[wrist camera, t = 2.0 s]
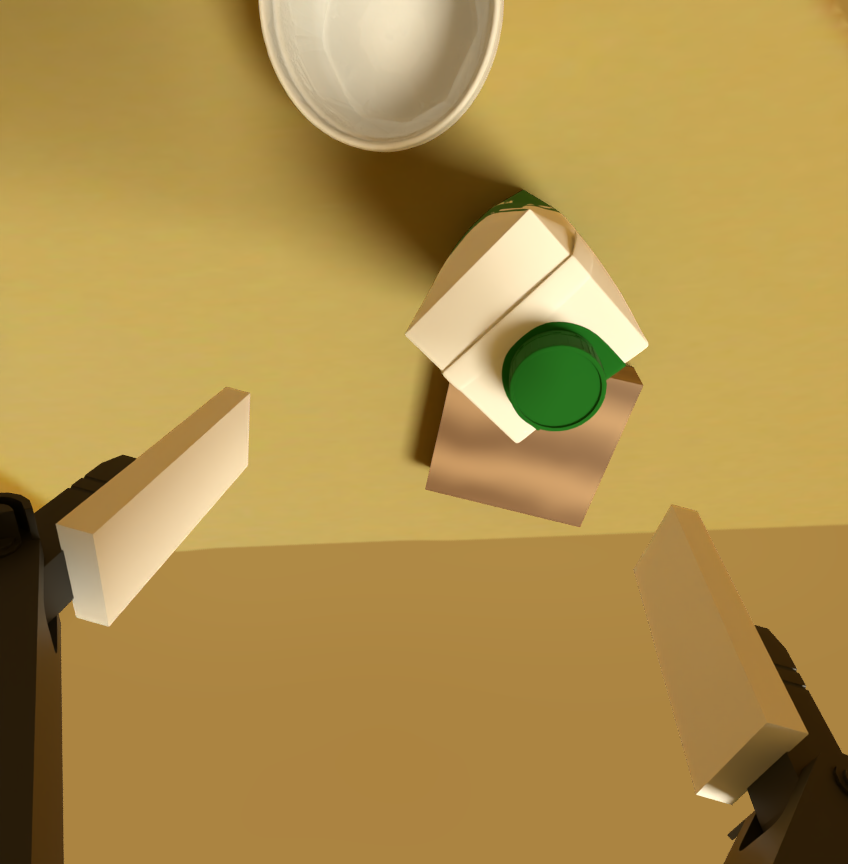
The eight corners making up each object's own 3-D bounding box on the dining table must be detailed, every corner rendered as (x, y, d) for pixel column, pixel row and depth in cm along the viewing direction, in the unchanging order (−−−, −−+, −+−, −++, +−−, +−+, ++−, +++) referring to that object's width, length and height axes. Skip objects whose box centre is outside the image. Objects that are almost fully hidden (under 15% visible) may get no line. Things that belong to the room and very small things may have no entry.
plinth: (463, 326, 41) (458, 342, 38) (632, 365, 41) (643, 385, 37) (431, 465, 48) (425, 489, 45) (575, 500, 48) (579, 527, 44)
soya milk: (515, 342, 41) (514, 483, 24) (435, 259, 39) (371, 348, 21) (606, 263, 37) (686, 362, 20) (523, 166, 35) (531, 183, 18)
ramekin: (362, -171, 28) (321, -257, 22) (551, -15, 30) (560, -56, 24) (272, 76, 35) (221, 61, 29) (432, 191, 37) (416, 199, 31)
